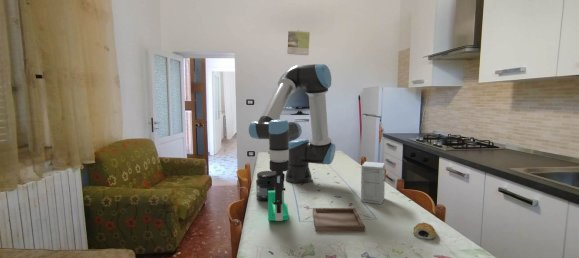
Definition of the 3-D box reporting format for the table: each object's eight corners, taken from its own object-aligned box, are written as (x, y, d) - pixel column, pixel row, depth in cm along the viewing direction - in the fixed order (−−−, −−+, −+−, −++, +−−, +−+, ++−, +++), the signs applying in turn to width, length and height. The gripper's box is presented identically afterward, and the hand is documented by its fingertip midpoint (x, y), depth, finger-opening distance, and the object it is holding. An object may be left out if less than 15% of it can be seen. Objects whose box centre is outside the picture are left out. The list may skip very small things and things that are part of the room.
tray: (312, 212, 117) (312, 207, 117) (354, 212, 116) (355, 208, 116) (315, 231, 100) (315, 226, 100) (364, 231, 100) (364, 226, 100)
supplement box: (384, 197, 133) (385, 162, 131) (382, 204, 125) (383, 167, 123) (364, 195, 137) (364, 161, 135) (360, 201, 129) (361, 165, 127)
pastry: (416, 226, 104) (416, 216, 104) (436, 230, 101) (437, 220, 100) (412, 237, 96) (413, 226, 96) (434, 242, 93) (435, 231, 93)
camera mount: (288, 222, 106) (288, 196, 105) (268, 223, 106) (267, 196, 105) (287, 209, 118) (286, 185, 117) (268, 209, 118) (268, 186, 116)
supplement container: (281, 195, 137) (281, 171, 136) (273, 203, 127) (273, 177, 126) (262, 193, 141) (261, 169, 139) (252, 200, 131) (251, 175, 129)
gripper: (272, 153, 121) (273, 201, 124) (266, 168, 97) (267, 227, 100) (289, 153, 121) (290, 201, 124) (288, 168, 97) (288, 227, 100)
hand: (280, 213), depth 112 cm, fingers closed on camera mount, 12 cm apart
